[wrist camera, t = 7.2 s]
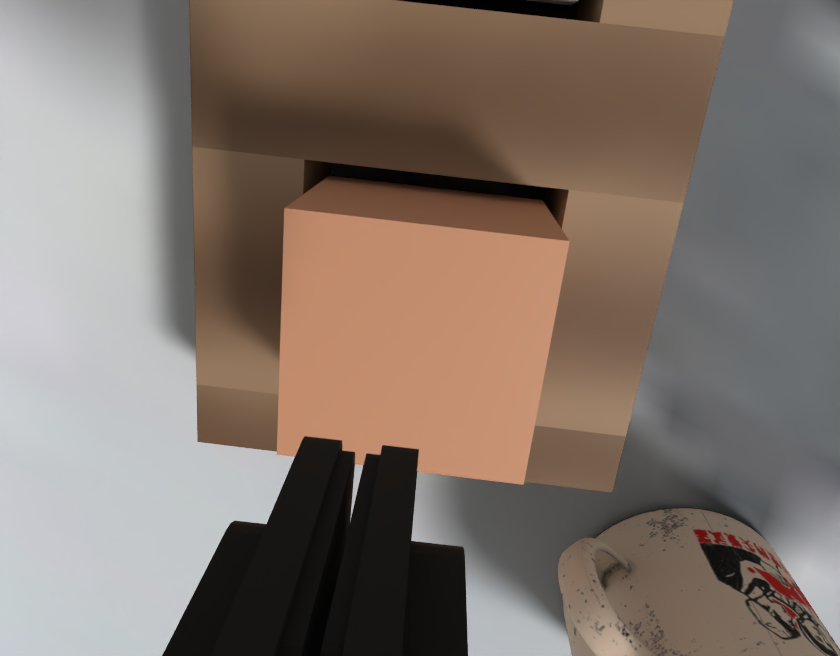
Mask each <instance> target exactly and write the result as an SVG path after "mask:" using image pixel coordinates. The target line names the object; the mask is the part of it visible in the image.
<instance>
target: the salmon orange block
mask: <svg viewBox="0 0 840 656" xmlns="http://www.w3.org/2000/svg"><path fill="white" fill-rule="evenodd" d="M569 242H570V241H569V239H568V238H567V236H566V235H565V233H564V232H563V230H562V229H561V227H560V226H559V224H558V223H557V221H556V220H555V218H554V217H553V215H552V214H551V212H550V211H549V209H548V208H547V206H546V205H545V203H544V202H543V200H536V199H528V198H519V197H510V196H501V195H493V194H484V193H475V192H467V191H458V190H449V189H441V188H432V187H423V186H414V185H406V184H397V183H388V182H380V181H371V180H362V179H354V178H345V177H336V176H328V177H327V178H325V179H324V180H323V181H321V182H320V183H318V184H317V185H316V186H314V187H313V188H312V189H310V190H309V191H307V192H306V193H305V194H303V195H302V196H300V197H299V198H298V199H296V200H295V201H293V202H292V203H291V204H289V205H288V206H287V207H285V208H284V235H283V267H282V300H281V332H280V365H279V398H278V430H277V454H278V455H286V456H294V457H295V456H296V453H297V451H298V449H299V446H300V444H301V442H302V439H303V438H304V436H308V437H317V438H326V439H334V440H342V450H343V451H352V452H355V464H359V465H364V461H365V457H366V454H367V453H369V454H378V455H380V454H381V449H382V445H387V446H396V447H404V448H413V449H419V455H418V467H417V472H424V473H432V474H440V475H448V476H456V477H465V478H473V479H481V480H489V481H497V482H505V483H513V484H521V485H524V480H525V475H526V469H527V464H528V459H529V454H530V448H531V443H532V438H533V432H534V427H535V422H536V417H537V411H538V406H539V401H540V395H541V390H542V385H543V380H544V374H545V369H546V364H547V358H548V353H549V348H550V343H551V337H552V332H553V327H554V321H555V316H556V311H557V306H558V300H559V295H560V290H561V284H562V279H563V274H564V269H565V263H566V258H567V253H568V247H569Z"/></svg>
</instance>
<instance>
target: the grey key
mask: <svg viewBox="0 0 840 656" xmlns="http://www.w3.org/2000/svg"><path fill="white" fill-rule="evenodd" d="M526 1H535V2H544V3H553V4H563V5H573V4H574V3H575V2H577V1H578V0H526Z"/></svg>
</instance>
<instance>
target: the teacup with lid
mask: <svg viewBox="0 0 840 656" xmlns="http://www.w3.org/2000/svg"><path fill="white" fill-rule="evenodd" d="M558 580H559V586H560V590H561V594H562V597H563V609H564V617H565V622H566V627H567V633H568V638H569V643H570V648H571V653H572V656H840V649H839V648H838V646H837V645H836V643H835V641H834V640H833V638H832V637H831V635H830V634H829V632H828V631H827V629H826V628H825V626H824V625H823V623H822V622H821V620H820V619H819V617H818V616H817V614H816V613H815V611H814V610H813V608H812V607H811V605H810V604H809V602H808V601H807V599H806V598H805V596H804V595H803V593H802V592H801V590H800V589H799V587H798V586H797V584H796V583H795V581H794V580H793V578H792V577H791V575H790V574H789V572H788V571H787V569H786V568H785V566H784V565H783V563H782V562H781V560H780V558H779V557H778V555H777V554H776V552H775V551H774V549H773V548H772V547H771V546H770V545H769V544H768V542H767V541H766V540H765V539H764V538H762V537H761V536H760V535H759V534H758V533H757V532H755V531H754V530H753V529H751V528H750V527H748V526H747V525H745V524H743V523H741V522H739V521H737V520H735V519H733V518H731V517H728V516H725V515H723V514H720V513H716V512H712V511H707V510H701V509H691V508H672V509H662V510H656V511H651V512H647V513H643V514H640V515H636V516H633V517H631V518H628V519H626V520H624V521H621V522H620V523H618V524H616V525H614V526H612V527H610V528H609V529H607V530H606V531H604V532H603V533H601V534H600V535H599V536H597V537H596V538H595V539H594V538H588V537H587V538H582V539H580V540H578V541H576V542H575V543H573V544H572V545H570V546H569V547H568V548H567V549H566V550H565V551H564V552H563V553H562V555H561V557H560V560H559V564H558Z"/></svg>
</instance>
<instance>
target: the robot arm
mask: <svg viewBox="0 0 840 656" xmlns="http://www.w3.org/2000/svg"><path fill="white" fill-rule="evenodd" d="M418 455H419V449H413V448H404V447H396V446H387V445H382V449H381V454H380V455H378V454H369V453H367V454H366V457H365V461H364V465H363V470H362V474H361V478H360V483H359V487H358V491H357V496H356V500H355V504H354V509H353V513H352V518H351V522H350V516H351V504H352V491H353V479H354V467H355V452H352V451H343V450H342V440H334V439H326V438H317V437H308V436H304V438H303V439H302V442H301V444H300V446H299V449H298V451H297V453H296V456H295V458H294V461H293V463H292V465H291V468H290V470H289V472H288V475H287V477H286V479H285V482H284V484H283V487H282V489H281V491H280V494H279V496H278V498H277V501H276V503H275V506H274V508H273V510H272V513H271V515H270V517H269V520H268V522H267V524H259V523H250V522H241V521H234V522H232V523H231V524H230V525H229V527H228V528H227V530H226V532H225V534H224V536H223V538H222V540H221V541H220V543H219V545H218V547H217V549H216V551H215V553H214V555H213V557H212V559H211V561H210V563H209V565H208V567H207V569H206V571H205V573H204V575H203V577H202V579H201V581H200V583H199V585H198V587H197V589H196V591H195V593H194V595H193V596H192V598H191V600H190V602H189V604H188V606H187V608H186V610H185V612H184V614H183V616H182V618H181V620H180V622H179V624H178V626H177V628H176V630H175V632H174V634H173V636H172V638H171V640H170V642H169V644H168V646H167V648H166V650H165V651H164V653H163V655H162V656H468V644H467V613H466V581H465V555H464V548H463V547H458V546H450V545H441V544H432V543H424V542H415V541H411V536H412V525H413V513H414V502H415V490H416V478H417V467H418Z"/></svg>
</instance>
